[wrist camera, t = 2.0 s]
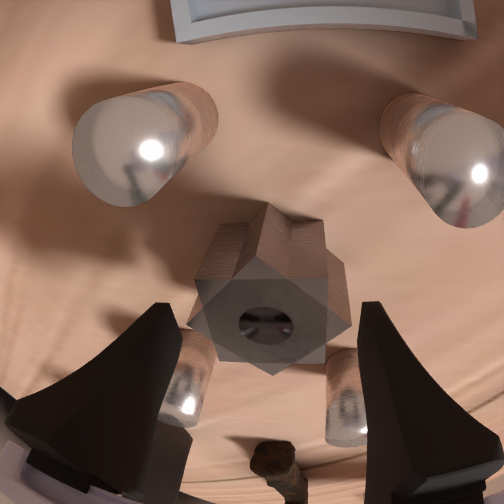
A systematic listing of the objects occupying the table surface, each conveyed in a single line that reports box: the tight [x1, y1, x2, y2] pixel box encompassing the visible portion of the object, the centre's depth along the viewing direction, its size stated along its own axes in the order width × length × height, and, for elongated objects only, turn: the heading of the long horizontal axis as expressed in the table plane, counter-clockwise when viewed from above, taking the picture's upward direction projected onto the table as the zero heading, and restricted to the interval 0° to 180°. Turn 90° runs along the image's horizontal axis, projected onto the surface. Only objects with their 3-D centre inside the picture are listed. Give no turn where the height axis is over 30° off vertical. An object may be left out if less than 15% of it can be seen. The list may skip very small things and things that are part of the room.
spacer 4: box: [379, 93, 504, 228], centre depth 8 cm, size 3×3×5 cm
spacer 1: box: [72, 82, 218, 207], centre depth 9 cm, size 3×3×5 cm
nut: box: [186, 203, 352, 376], centre depth 13 cm, size 6×6×4 cm
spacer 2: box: [157, 329, 217, 428], centre depth 17 cm, size 3×3×5 cm
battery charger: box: [112, 420, 193, 504], centre depth 22 cm, size 7×4×11 cm, turn 18°
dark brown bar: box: [250, 442, 308, 504], centre depth 29 cm, size 19×4×5 cm, turn 14°
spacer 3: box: [325, 349, 367, 447], centre depth 16 cm, size 3×3×5 cm
